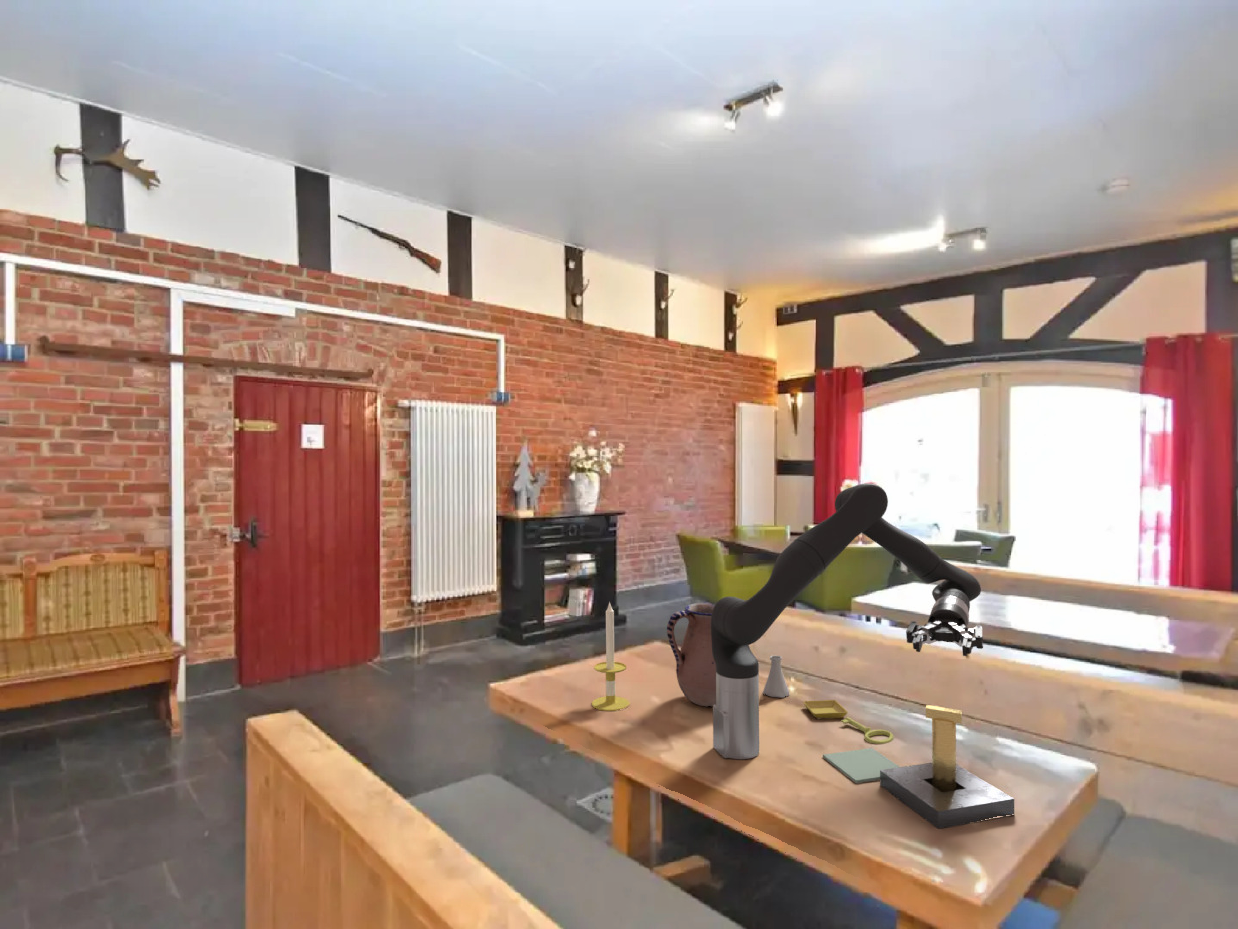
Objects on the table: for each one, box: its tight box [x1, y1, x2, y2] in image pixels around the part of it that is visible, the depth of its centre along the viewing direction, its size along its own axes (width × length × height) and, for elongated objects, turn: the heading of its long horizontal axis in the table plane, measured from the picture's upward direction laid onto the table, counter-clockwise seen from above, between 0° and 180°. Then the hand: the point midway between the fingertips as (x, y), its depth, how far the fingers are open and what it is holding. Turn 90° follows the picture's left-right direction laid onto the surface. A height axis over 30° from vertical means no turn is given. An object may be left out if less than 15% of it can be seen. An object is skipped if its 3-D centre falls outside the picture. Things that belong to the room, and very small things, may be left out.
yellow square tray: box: [802, 699, 848, 719], centre depth 170 cm, size 9×9×2 cm
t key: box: [925, 704, 963, 792], centre depth 127 cm, size 6×4×17 cm, turn 60°
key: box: [840, 716, 894, 745], centre depth 157 cm, size 7×12×2 cm, turn 46°
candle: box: [591, 601, 631, 712], centre depth 177 cm, size 10×10×27 cm
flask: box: [762, 655, 790, 699], centre depth 184 cm, size 7×7×10 cm
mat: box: [822, 747, 900, 784], centre depth 141 cm, size 12×12×1 cm
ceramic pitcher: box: [666, 601, 716, 707], centre depth 177 cm, size 18×21×25 cm
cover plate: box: [879, 762, 1015, 830], centre depth 127 cm, size 16×16×3 cm
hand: (940, 649), depth 135 cm, fingers open, 8 cm apart
